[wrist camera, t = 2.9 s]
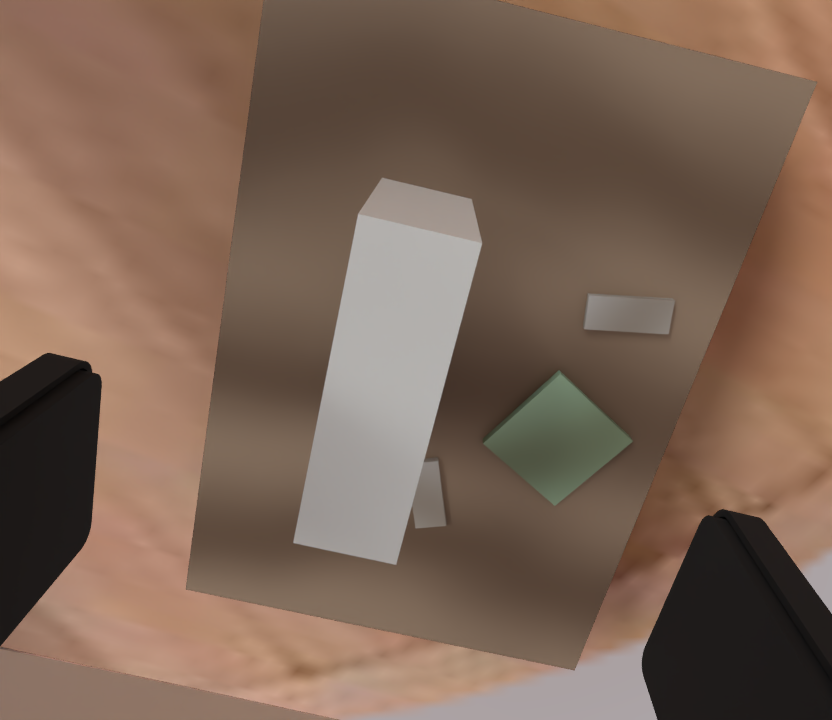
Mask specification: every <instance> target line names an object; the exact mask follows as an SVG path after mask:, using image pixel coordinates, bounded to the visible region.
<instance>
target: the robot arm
mask: <svg viewBox="0 0 832 720" xmlns="http://www.w3.org/2000/svg"><path fill="white" fill-rule="evenodd" d="M101 388H102V381H101V377H100V375H99V374H96V373H92V369H91V365H90V364H89V363H88V362H86V361H82V360H77V359H73V358H69V357H65V356H60V355H56V354H52V353H47V354H44V355H42V356H41V357H39V358H37V359H36V360H34V361H33V362H31V363H29V364H28V365H26V366H24V367H23V368H21V369H20V370H18V371H16V372H15V373H13V374H12V375H10V376H8V377H7V378H5V379H3V380H2V381H0V646H1V645H2V644H3V642H4V641H5V640H6V639H7V638H8V636H9V635H10V634H11V633H12V632H13V630H14V629H15V628H16V627H17V626H18V624H19V623H20V622H21V621H22V620H23V618H24V617H25V616H26V615H27V614H28V612H29V611H30V610H31V609H32V608H33V606H34V605H35V604H36V603H37V602H38V600H39V599H40V598H41V597H42V596H43V594H44V593H45V592H46V591H47V590H48V588H49V587H50V586H51V585H52V584H53V582H54V581H55V580H56V579H57V578H58V576H59V575H60V574H61V573H62V572H63V570H64V569H65V568H66V567H67V566H68V564H69V563H70V562H71V561H72V560H73V558H74V557H75V556H76V555H77V554H78V552H79V551H80V550H81V549H82V547H83V546H84V544H85V542H86V540H87V538H88V535H89V532H90V528H91V522H92V509H93V495H94V482H95V468H96V455H97V441H98V428H99V414H100V401H101ZM642 672H643V676H644V679H645V682H646V685H647V688H648V692H649V694H650V698H651V701H652V704H653V707H654V710H655V713H656V716H657V719H658V720H832V614H831V612H830V611H829V610H828V608H827V607H826V605H825V604H824V603H823V602H822V600H821V599H820V597H819V596H818V595H817V593H816V592H815V590H814V589H813V588H812V586H811V585H810V584H809V582H808V581H807V579H806V578H805V577H804V575H803V574H802V573H801V571H800V570H799V568H798V567H797V566H796V564H795V563H794V562H793V560H792V559H791V557H790V556H789V555H788V553H787V552H786V551H785V549H784V548H783V546H782V545H781V544H780V542H779V541H778V540H777V538H776V537H775V535H774V534H773V533H772V531H771V530H770V529H769V527H768V526H767V524H766V523H765V522H764V521H763V520H762V519H761V518H758V517H754V516H750V515H745V514H741V513H737V512H733V511H728V510H724V509H722V510H719V511H718V512H717V513H716V514H715V515H714V516H709V515H708V516H706V517H704V518H703V519H702V521H701V523H700V524H699V527H698V529H697V531H696V533H695V536H694V538H693V540H692V542H691V545H690V547H689V549H688V551H687V554H686V556H685V558H684V560H683V563H682V565H681V567H680V569H679V572H678V574H677V576H676V578H675V581H674V583H673V585H672V588H671V590H670V592H669V594H668V597H667V599H666V601H665V603H664V606H663V608H662V610H661V612H660V615H659V617H658V619H657V621H656V624H655V626H654V628H653V630H652V633H651V635H650V637H649V639H648V642H647V644H646V646H645V649H644V652H643V657H642ZM0 720H338V719H333V718H328V717H324V716H319V715H314V714H310V713H305V712H301V711H296V710H291V709H287V708H282V707H278V706H273V705H268V704H264V703H259V702H254V701H250V700H245V699H241V698H236V697H232V696H227V695H222V694H218V693H213V692H209V691H204V690H200V689H195V688H190V687H186V686H181V685H177V684H172V683H167V682H163V681H158V680H153V679H148V678H144V677H139V676H134V675H130V674H125V673H120V672H116V671H111V670H106V669H102V668H97V667H92V666H87V665H83V664H78V663H73V662H69V661H64V660H59V659H55V658H50V657H45V656H41V655H36V654H31V653H27V652H22V651H17V650H13V649H8V648H3V647H0Z"/></svg>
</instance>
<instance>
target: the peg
mask: <svg viewBox="0 0 832 720" xmlns="http://www.w3.org/2000/svg"><path fill="white" fill-rule="evenodd" d="M481 246H482V240H481V236H480V232H479V228H478V223H477V219H476V215H475V211H474V207H473V202H472V199H469V198H465V197H461V196H457V195H453V194H448V193H444V192H440V191H436V190H432V189H428V188H423V187H419V186H415V185H411V184H407V183H403V182H398V181H394V180H390V179H386V178H382V179H381V180H380V182H379V183H378V185H377V186H376V188H375V189H374V191H373V192H372V194H371V195H370V197H369V198H368V200H367V201H366V203H365V204H364V206H363V207H362V209H361V210H360V212H359V213H358V217H357V222H356V227H355V232H354V237H353V242H352V247H351V253H350V258H349V263H348V268H347V273H346V278H345V283H344V288H343V293H342V298H341V303H340V308H339V313H338V318H337V323H336V328H335V334H334V339H333V344H332V349H331V354H330V359H329V364H328V369H327V374H326V379H325V384H324V389H323V394H322V399H321V404H320V409H319V414H318V420H317V425H316V430H315V435H314V440H313V445H312V450H311V455H310V460H309V465H308V470H307V475H306V480H305V485H304V490H303V495H302V501H301V506H300V511H299V516H298V521H297V526H296V531H295V536H294V541H293V543H296V544H300V545H305V546H310V547H314V548H319V549H324V550H329V551H333V552H338V553H343V554H347V555H352V556H357V557H361V558H366V559H371V560H376V561H380V562H385V563H390V564H394V565H396V563H397V560H398V556H399V552H400V548H401V545H402V541H403V537H404V533H405V530H406V526H407V522H408V519H409V515H410V511H411V507H412V504H413V500H414V496H415V492H416V489H417V485H418V481H419V477H420V474H421V470H422V466H423V463H424V459H425V455H426V451H427V448H428V444H429V440H430V436H431V433H432V429H433V425H434V421H435V418H436V414H437V410H438V407H439V403H440V399H441V395H442V392H443V388H444V384H445V380H446V377H447V373H448V369H449V365H450V362H451V358H452V354H453V350H454V347H455V343H456V339H457V336H458V332H459V328H460V324H461V321H462V317H463V313H464V309H465V306H466V302H467V298H468V294H469V291H470V287H471V283H472V280H473V276H474V272H475V268H476V265H477V261H478V257H479V253H480V250H481Z"/></svg>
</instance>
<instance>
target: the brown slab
mask: <svg viewBox="0 0 832 720" xmlns="http://www.w3.org/2000/svg"><path fill="white" fill-rule="evenodd" d="M816 84H817V82H816V81H812V80H808V79H804V78H800V77H796V76H792V75H788V74H784V73H780V72H776V71H772V70H769V69H765V68H761V67H757V66H753V65H749V64H745V63H741V62H737V61H733V60H729V59H725V58H721V57H717V56H714V55H710V54H706V53H702V52H698V51H694V50H690V49H686V48H682V47H678V46H674V45H670V44H666V43H662V42H659V41H655V40H651V39H647V38H643V37H639V36H635V35H631V34H627V33H623V32H619V31H615V30H611V29H607V28H603V27H600V26H596V25H592V24H588V23H584V22H580V21H576V20H572V19H568V18H564V17H560V16H556V15H552V14H548V13H545V12H541V11H537V10H533V9H529V8H525V7H521V6H517V5H513V4H509V3H505V2H501V1H497V0H264V1H263V9H262V17H261V24H260V32H259V39H258V47H257V54H256V62H255V69H254V77H253V85H252V92H251V100H250V107H249V115H248V122H247V130H246V137H245V145H244V153H243V160H242V168H241V175H240V183H239V190H238V198H237V205H236V213H235V221H234V228H233V236H232V243H231V251H230V258H229V266H228V273H227V281H226V289H225V296H224V304H223V311H222V319H221V326H220V334H219V341H218V349H217V357H216V364H215V372H214V379H213V387H212V394H211V402H210V409H209V417H208V425H207V432H206V440H205V447H204V455H203V462H202V470H201V477H200V485H199V493H198V500H197V508H196V515H195V523H194V530H193V538H192V545H191V553H190V561H189V568H188V576H187V583H186V590H191V591H196V592H201V593H205V594H210V595H215V596H220V597H225V598H229V599H234V600H239V601H244V602H249V603H253V604H258V605H263V606H268V607H273V608H277V609H282V610H287V611H292V612H297V613H301V614H306V615H311V616H316V617H321V618H325V619H330V620H335V621H340V622H345V623H350V624H354V625H359V626H364V627H369V628H374V629H378V630H383V631H388V632H393V633H398V634H402V635H407V636H412V637H417V638H422V639H426V640H431V641H436V642H441V643H446V644H450V645H455V646H460V647H465V648H470V649H474V650H479V651H484V652H489V653H494V654H499V655H503V656H508V657H513V658H518V659H523V660H527V661H532V662H537V663H542V664H547V665H551V666H556V667H561V668H566V669H571V670H575V668H576V665H577V663H578V660H579V658H580V656H581V653H582V651H583V648H584V646H585V644H586V641H587V639H588V636H589V634H590V631H591V629H592V627H593V624H594V622H595V619H596V617H597V614H598V612H599V610H600V607H601V605H602V602H603V600H604V597H605V595H606V593H607V590H608V588H609V585H610V583H611V581H612V578H613V576H614V573H615V571H616V568H617V566H618V564H619V561H620V559H621V556H622V554H623V551H624V549H625V547H626V544H627V542H628V539H629V537H630V534H631V532H632V530H633V527H634V525H635V522H636V520H637V518H638V515H639V513H640V510H641V508H642V505H643V503H644V501H645V498H646V496H647V493H648V491H649V488H650V486H651V484H652V481H653V479H654V476H655V474H656V471H657V469H658V467H659V464H660V462H661V459H662V457H663V455H664V452H665V450H666V447H667V445H668V442H669V440H670V438H671V435H672V433H673V430H674V428H675V425H676V423H677V421H678V418H679V416H680V413H681V411H682V408H683V406H684V404H685V401H686V399H687V396H688V394H689V392H690V389H691V387H692V384H693V382H694V379H695V377H696V375H697V372H698V370H699V367H700V365H701V362H702V360H703V358H704V355H705V353H706V350H707V348H708V345H709V343H710V341H711V338H712V336H713V333H714V331H715V329H716V326H717V324H718V321H719V319H720V316H721V314H722V312H723V309H724V307H725V304H726V302H727V299H728V297H729V295H730V292H731V290H732V287H733V285H734V282H735V280H736V278H737V275H738V273H739V270H740V268H741V266H742V263H743V261H744V258H745V256H746V253H747V251H748V249H749V246H750V244H751V241H752V239H753V236H754V234H755V232H756V229H757V227H758V224H759V222H760V219H761V217H762V215H763V212H764V210H765V207H766V205H767V203H768V200H769V198H770V195H771V193H772V190H773V188H774V186H775V183H776V181H777V178H778V176H779V173H780V171H781V169H782V166H783V164H784V161H785V159H786V156H787V154H788V152H789V149H790V147H791V144H792V142H793V140H794V137H795V135H796V132H797V130H798V127H799V125H800V123H801V120H802V118H803V115H804V113H805V110H806V108H807V106H808V103H809V101H810V98H811V96H812V93H813V91H814V89H815V86H816ZM382 178H386V179H390V180H394V181H398V182H403V183H407V184H411V185H415V186H419V187H423V188H428V189H432V190H436V191H440V192H444V193H448V194H453V195H457V196H461V197H465V198H469V199H472V202H473V207H474V211H475V215H476V219H477V223H478V228H479V232H480V236H481V240H482V246H481V250H480V253H479V257H478V261H477V265H476V268H475V272H474V276H473V280H472V283H471V287H470V291H469V294H468V298H467V302H466V306H465V309H464V313H463V317H462V321H461V324H460V328H459V332H458V336H457V339H456V343H455V347H454V350H453V354H452V358H451V362H450V365H449V369H448V373H447V377H446V380H445V384H444V388H443V392H442V395H441V399H440V403H439V407H438V410H437V414H436V418H435V421H434V425H433V429H432V433H431V436H430V440H429V444H428V448H427V451H426V455H425V459H424V463H423V466H422V470H421V474H420V477H419V481H418V485H417V489H416V492H415V496H414V500H413V504H412V507H411V511H410V515H409V519H408V522H407V526H406V530H405V533H404V537H403V541H402V545H401V548H400V552H399V556H398V560H397V563H396V565H394V564H390V563H385V562H380V561H376V560H371V559H366V558H361V557H357V556H352V555H347V554H343V553H338V552H333V551H329V550H324V549H319V548H314V547H310V546H305V545H300V544H296V543H293V541H294V536H295V531H296V526H297V521H298V516H299V511H300V506H301V501H302V495H303V490H304V485H305V480H306V475H307V470H308V465H309V460H310V455H311V450H312V445H313V440H314V435H315V430H316V425H317V420H318V414H319V409H320V404H321V399H322V394H323V389H324V384H325V379H326V374H327V369H328V364H329V359H330V354H331V349H332V344H333V339H334V334H335V328H336V323H337V318H338V313H339V308H340V303H341V298H342V293H343V288H344V283H345V278H346V273H347V268H348V263H349V258H350V253H351V247H352V242H353V237H354V232H355V227H356V222H357V217H358V213H359V212H360V210H361V209H362V207H363V206H364V204H365V203H366V201H367V200H368V198H369V197H370V195H371V194H372V192H373V191H374V189H375V188H376V186H377V185H378V183H379V182H380V180H381V179H382Z"/></svg>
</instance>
